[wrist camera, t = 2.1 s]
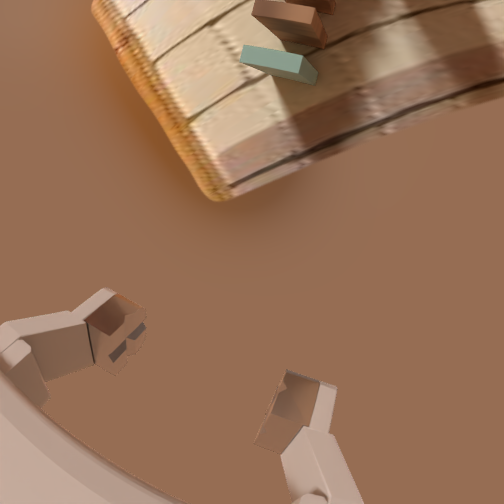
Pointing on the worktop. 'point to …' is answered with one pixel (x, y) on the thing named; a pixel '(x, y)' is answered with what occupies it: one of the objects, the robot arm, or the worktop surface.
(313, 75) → the domino end
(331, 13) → the domino
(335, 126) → the worktop surface
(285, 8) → the domino
